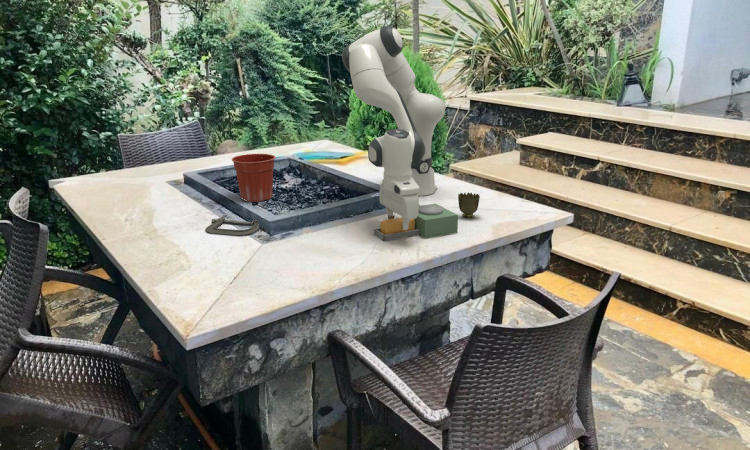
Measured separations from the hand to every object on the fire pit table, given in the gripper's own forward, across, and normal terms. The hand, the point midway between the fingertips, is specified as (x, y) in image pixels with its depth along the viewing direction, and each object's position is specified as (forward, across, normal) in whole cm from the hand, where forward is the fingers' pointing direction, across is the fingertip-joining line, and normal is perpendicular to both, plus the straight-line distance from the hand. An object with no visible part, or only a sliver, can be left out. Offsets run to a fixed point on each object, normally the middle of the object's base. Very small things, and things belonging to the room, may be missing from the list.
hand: (397, 224), depth 183 cm
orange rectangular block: (+3, 0, 0) cm, 3 cm away
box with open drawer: (+3, 0, +6) cm, 6 cm away
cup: (+4, -5, +30) cm, 31 cm away
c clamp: (+4, -31, -45) cm, 55 cm away
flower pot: (+3, -62, -30) cm, 69 cm away
